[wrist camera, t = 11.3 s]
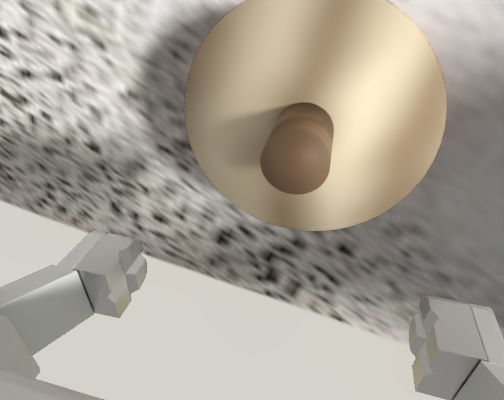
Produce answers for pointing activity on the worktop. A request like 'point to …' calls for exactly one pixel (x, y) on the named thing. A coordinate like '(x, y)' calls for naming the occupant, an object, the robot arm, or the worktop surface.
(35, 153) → the worktop surface
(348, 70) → the lid
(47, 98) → the worktop surface
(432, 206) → the worktop surface
